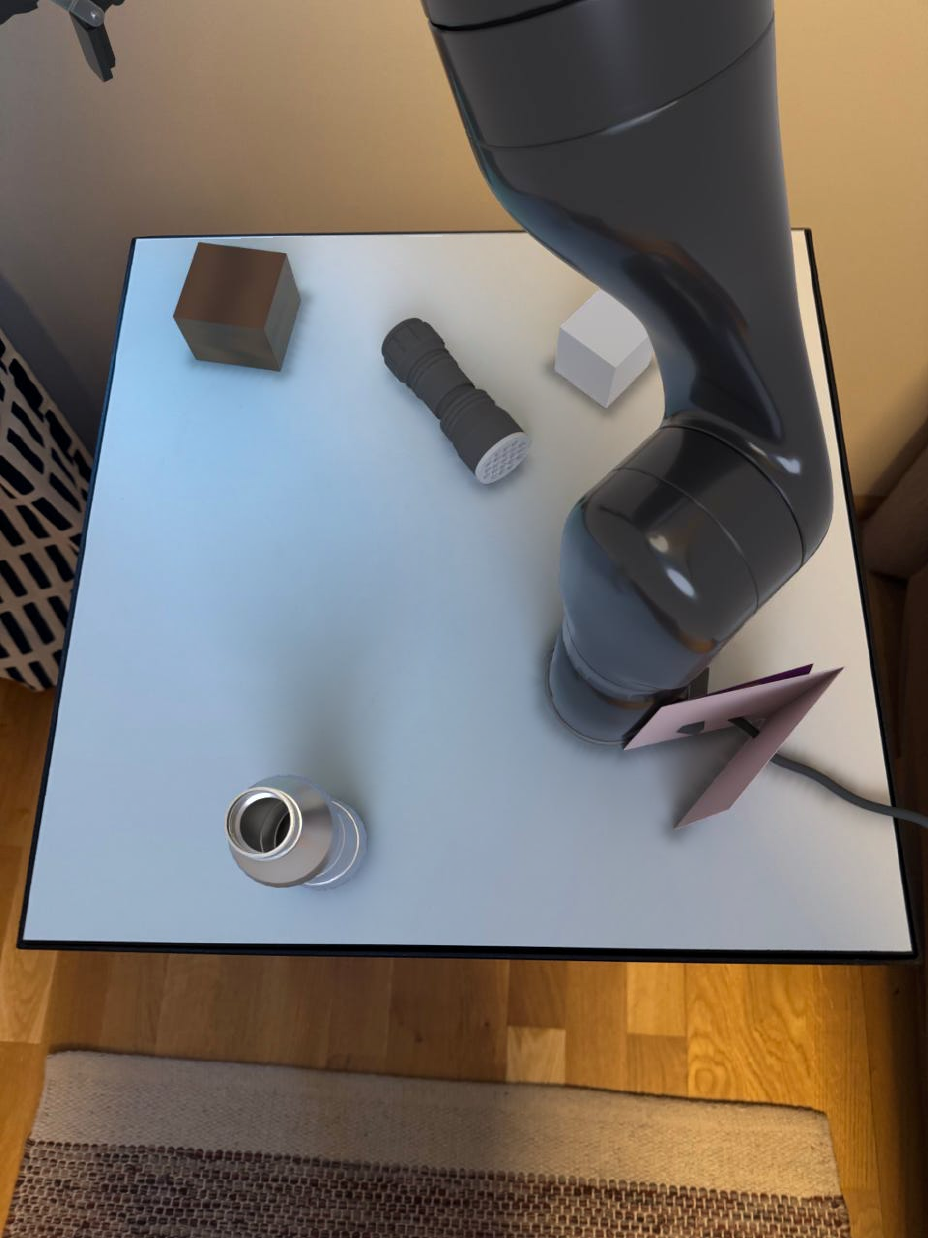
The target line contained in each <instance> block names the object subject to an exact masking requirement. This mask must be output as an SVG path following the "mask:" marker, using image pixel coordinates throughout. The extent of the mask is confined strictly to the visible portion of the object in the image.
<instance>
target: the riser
mask: <svg viewBox="0 0 928 1238" xmlns="http://www.w3.org/2000/svg"><path fill="white" fill-rule="evenodd" d="M184 279H185V280H184V283H183V284H182V288H181V291H180V294H179V297H178V300H177V302H176V305H175V309H174V311H173V314H172V318H173V320H174V322H175V324H176V326H177V328H178V330H179V331H180V334H181V335H182V337H183V339H184V341H185V342H186V344H187V346H188V348H189V350H190V352H191V354H192V355H193V357H194V359H195V360H196V361H202V362H209V363H216V364H223V365H229V366H238V367H244V368H245V367H246V368H250V369H251V368H253V369H258V370H266V371H273V372H281V370H282V366H283V363H284V360H285V356H286V353H287V349H288V345H289V342H290V339H291V336H292V332H293V328H294V325H295V322H296V318H297V314H298V311H299V308H300V304H301V301H302V299H301V295H300V291H299V288H298V286H297V283H296V279H295V276H294V273H293V270H292V266H291V264H290V260H289V257H288V255H287V253H286V252H280V251H272V250H266V249H258V248H250V247H241V246H235V245H226V244H220V243H219V244H217V243H212V242H211V243H209V242H203V241H198V242H197V245H196V248H195V251H194V253H193V256H192V260H191V262H190V266H189V268H188V271H187V273H186V277H185V278H184Z"/></svg>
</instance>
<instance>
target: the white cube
mask: <svg viewBox="0 0 928 1238" xmlns="http://www.w3.org/2000/svg"><path fill="white" fill-rule="evenodd" d="M557 337H558V339H557V345H556V354H555V361H554V371H555V372H556V373H557V374H558V375H560V376H561V377H563V378H564V379H565V380H566V381H568V382H569V383H571V384H572V385H573V386H575V387H576V388H577V389H579V390H580V391H581V392H582V393H584V394H585V395H586V396H588V397H589V398H590V399H592V400H593V401H595V402H596V404H598V405H600V406H602V407H603V408H604V409H606V410H607V408H609V407H610V405H611V404H613V402H614V401H616V400H617V398H618V397H619V396H621V394H623V392H625V391H626V389H627V388H628V387H630V386H631V384H632V383H633V382H634V381H635V380H636V379H638V377H639V376H640V375H641V374H642V373H643V372H644V371H646V370H647V368H648V367H649V366H650V363H651V359H652V357H653V353H654V350H653V347H652V344H651V342H650V339H649V337H648V334H647V332H646V331H645V329H644V327H643V325H642V324H641V323H640V321H639V320H638V319H637V318H636V317H635V316H634V315H633V314H632V313H631V312H630V311H629V310H628V309H627V308H625V307H624V306H623V305H622V304H620V303H619V302H618V301H617V300H615V299H614V298H613V297H612V296H610V295H609V294H608V293H606V292H605V291H603V290H602V289H600V288H599V289H598V290H596V291H595V292H594V293H593V295H592V296H590V297H589V298H588V299H587V300H586V301H585V302H584V303H582V305H581V306H580V307H579V308H578V309H577V310H576V311H575V312H574V313H573V314H571V316H570V317H568V319H567V320H565V321H564V322H563V324H561V325H560V326H559V329H558V336H557Z"/></svg>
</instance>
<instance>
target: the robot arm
mask: <svg viewBox="0 0 928 1238" xmlns="http://www.w3.org/2000/svg"><path fill="white" fill-rule="evenodd" d="M39 1H40V0H0V26H1V25H3V24H5V23H6V22H7V21H8V20H10V19H11V18H13V16H16V15H21V14H28V13H30V12H33V11H35V10H37V9H39V6H38V3H39ZM125 1H126V0H51V2H53V3H54V4H56V5H58V6H59V7H60V8H62V9H63V10H65V11H66V12H68V14H69V17H70V20H71V22H72V25H73V28H74V31H75V33H76V36H77V39H78V42H79V44H80V47H81V50H82V54H83V56H84V58H85V60H86V63H87V66H88V67H89V68H90V70H91V71H92V72H93V73H94V74H95V75H96V77H97V78H99V80H101V82H103V83H106V82H109V81H111V80H113V79H114V74H113V72H112V69H113V68H116V58H117V57H116V56H115V53H114V50H113V46H112V44H111V41H110V37H109V34H108V31H107V28H106V26H105V22H104V21H105V17H106V16H105V14H106V12H107V11H108V9H109V8H111V6H115V7H118V6H121V5H123V4H124V3H125ZM419 1H420V4H421V7H422V11H423V14H424V16H425V17H426V19H427V25H428V28H429V31H430V34H431V36H432V39H433V43H434V46H435V49H436V52H437V54H438V57H439V60H440V63H441V66H442V68H443V72H444V75H445V78H446V80H447V83H448V86H449V89H450V91H451V95H452V98H453V101H454V105H455V107H456V110H457V112H458V115H459V118H460V121H461V124H462V126H463V128H464V132H465V135H466V138H467V142H468V143H469V144H468V145H469V146H470V149H471V151H472V154H473V156H474V160H475V162H476V164H477V167H478V169H479V172H480V173H481V175H482V177H483V179H484V180H485V183H486V184H487V186H488V188H489V190H490V192H491V193H492V195H493V196H494V197H495V199H496V200H497V201H498V203H499V204H500V205H501V207H502V209H504V211H505V212H506V213H507V214H508V215H509V217H511V219H512V220H513V221H514V222H515V223H516V224H517V225H518V226H519V227H520V228H522V230H523V231H524V232H526V233H527V235H528V236H530V237H531V238H532V239H533V240H534V241H536V242H537V243H538V244H539V245H541V246H542V247H543V248H544V249H546V251H549V253H550V254H552V255H553V256H555V257H556V258H557V259H559V260H560V261H561V262H563V263H564V264H565V265H567V266H568V267H569V268H571V269H572V270H573V271H575V272H576V273H578V274H579V275H580V276H582V277H583V278H584V279H586V280H587V281H589V282H591V283H592V284H593V285H595V286H596V287H598V288H599V289H602V290H603V291H605V292H606V293H608V294H609V295H610V296H612V297H613V298H614V299H615V300H617V301H618V302H619V303H620V304H622V305H623V306H624V307H625V308H627V309H628V310H629V311H630V312H631V313H632V314H633V315H634V316H635V317H636V318H637V319H638V320H639V321H640V323H641V324H642V325H643V327H644V329H645V331H646V332H647V334H648V337H649V339H650V342H651V344H652V347H653V353H654V356H655V359H656V362H657V363H656V364H657V366H658V370H659V375H660V379H661V381H662V382H661V383H662V390H663V398H664V400H663V401H664V410H663V416H662V419H661V422H660V424H659V426H658V428H656V430H655V431H653V432H652V433H651V434H650V435H649V436H648V437H647V438H645V439H644V440H643V441H642V442H641V443H640V444H638V446H636V447H635V448H634V449H633V450H632V451H630V453H628V455H626V456H625V457H624V458H623V459H622V460H621V461H620V462H619V463H617V465H615V466H614V468H612V469H611V470H610V471H609V472H607V473H606V475H605V476H603V477H602V478H601V479H600V480H599V481H598V482H597V483H595V484H594V485H593V487H591V488H590V489H589V490H588V491H587V492H585V494H583V496H582V497H580V498H579V499H578V500H577V502H576V503H575V504H574V505H573V507H572V509H571V510H570V511H569V513H568V515H567V517H566V519H565V522H564V525H563V529H562V532H561V533H562V534H561V540H560V553H559V554H560V555H559V565H558V566H559V567H558V588H559V589H558V590H559V594H560V598H561V602H562V605H563V608H564V611H563V615H562V619H561V623H560V627H559V629H558V634H557V638H556V641H555V645H554V647H553V648H552V649H550V651H549V652H548V654H546V656H545V657H544V658H543V662H545V661H546V660H547V659H548V658H549V656H551V658H550V660H549V664H548V666H547V671H546V676H545V693H546V698H547V702H548V704H549V707H550V710H551V711H552V713H553V715H554V716H555V718H556V719H557V721H558V722H559V723H560V724H561V725H562V727H563V728H564V729H566V730H567V731H568V732H569V733H570V734H571V735H574V736H575V737H576V738H578V739H581V740H583V741H585V742H588V743H591V744H595V745H599V746H618V745H625V744H628V743H630V742H631V740H632V739H633V738H634V737H635V736H636V735H637V734H638V733H639V732H640V730H641V729H642V728H643V727H644V726H645V725H646V724H647V723H648V722H649V720H650V719H651V718H652V717H653V716H654V715H655V714H656V713H657V711H658V710H659V709H660V708H661V707H664V706H668V705H673V704H674V703H678V702H681V701H685V700H688V699H692V698H695V697H698V696H702V695H705V694H708V690H709V680H710V679H709V678H710V670H711V669H710V667H709V666H710V665H711V664H712V663H713V661H715V659H716V658H717V657H718V656H719V654H720V652H721V651H722V650H723V648H724V647H726V645H727V644H728V643H729V642H730V641H731V640H732V639H733V638H734V637H735V636H736V635H737V634H738V633H739V632H740V631H741V630H742V629H743V628H744V627H745V626H746V625H747V624H748V623H749V622H750V621H751V620H752V619H753V617H754V616H755V615H756V614H757V613H758V612H760V610H761V609H762V608H764V606H765V605H766V604H767V603H768V602H769V601H770V600H771V599H772V598H774V596H776V594H777V593H778V592H779V591H780V590H781V589H783V587H784V586H785V585H787V583H788V582H790V580H791V579H792V578H793V577H795V575H796V574H797V573H798V572H799V571H801V569H802V568H803V567H804V566H805V565H806V564H807V563H808V561H810V559H811V558H812V557H813V556H814V554H815V553H816V552H817V551H818V549H819V548H820V547H821V545H822V543H823V541H824V540H825V537H826V536H827V534H828V533H829V529H830V526H831V523H832V519H833V513H834V502H835V501H834V500H835V499H834V497H835V496H834V481H833V474H832V466H831V461H830V460H831V459H830V454H829V453H830V452H829V449H828V445H827V439H826V433H825V429H824V424H823V420H822V415H821V410H820V405H819V401H818V400H819V399H818V396H817V391H816V385H815V380H814V376H813V372H812V367H811V363H810V358H809V353H808V348H807V343H806V338H805V337H806V336H805V333H804V325H803V320H802V314H801V310H800V309H801V308H800V302H799V294H798V286H797V285H798V283H797V277H796V266H795V256H794V255H795V254H794V245H793V236H792V227H791V218H790V210H789V209H790V208H789V200H788V189H787V181H786V174H785V163H784V156H783V155H784V154H783V146H782V145H783V144H782V136H781V128H780V127H781V125H780V111H779V97H778V94H779V93H778V77H777V75H778V73H777V44H776V42H777V40H776V11H775V0H419ZM551 654H552V655H551ZM727 721H729V722H731V723H733V724H735V726H736V727H738V728H740V729H741V730H743V732H745V733H746V734H748V735H749V736H750V737H752V738H753V739H754V738H756V737H757V735H758V734H759V733H760V731H759V730H758V727H756V726H755V725H754V724H752V722H748V721H747V720H745V719H744V718H742V717H736V718H732V719H728V720H727ZM704 725H705V721H702V722H697V723H693V724H688V725H684V726H682V727H681V728H680V729H678V730H677V731H676V732H677V733H683V734H689V735H690V736H697V735H698V733H699V734H701V733H700V732H701V731H702V730H703V729H704ZM769 762H772V763H773V764H775V765H777V766H780V767H782V768H783V769H786V770H787V769H788V770H790V771H792V772H795V773H797V774H801V775H803V776H805V777H808V778H810V779H812V780H813V781H815V782H817V783H818V784H820V785H821V786H823V787H825V788H826V789H828V790H829V791H830V792H832V793H833V794H835V795H836V796H837V797H839V798H841V799H843V800H844V801H846V802H848V803H850V804H852V805H854V806H856V807H859V808H860V809H862V810H863V809H864V810H866V811H869V812H872V813H876V814H879V815H884V816H887V817H891V818H895V819H901V820H903V821H908V822H912V823H915V824H918V825H920V826H922V827H923V828H925V829H926V830H928V816H926V815H924V814H921V813H920V812H916V811H913V810H908V809H905V808H901V807H898V806H897V807H896V806H892V805H888V804H884V803H880V802H877V801H873V800H870V799H867V798H865V797H862V796H860V795H858V794H856V793H854V792H852V791H850V790H848V789H847V788H845V787H843V786H842V785H840V784H839V783H837V782H836V781H835V780H833V779H832V778H830V776H827V775H826V774H824V773H823V772H821V771H820V770H817V769H815V768H813V767H811V766H809V765H806V764H805V763H801V762H798V761H796V760H793V759H790V758H788V757H785V756H783V755H781V754H779V753H777V752H776V753H775V754H774V755H773V757H772V758H771V759H770V760H769Z"/></svg>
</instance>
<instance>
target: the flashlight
mask: <svg viewBox="0 0 928 1238" xmlns="http://www.w3.org/2000/svg"><path fill="white" fill-rule="evenodd" d="M380 351H381V352H380V353H381V355H382V357H383V363H384V365H385V366H386V367H387V368H388V370H389V371H390V372H391V373H392V374H393V376H394V377H395V378H396V379H397V380H398V381H399V382H400V383H402V384H405V385H406V386H407V387H408V388H409V389H410V390H411V392H412V393H413V394H414V395H415V397H416V398H418V399H419V400H420V401H422V402H423V403H424V405H425V406H426V407H427V408H428V410H429V411H430V412H431V414H433V416H434V417H435V418H436V419H437V420H438V421H439V428H440V432H442V433H443V434H444V436H445V437H446V438H447V439H448V441H449V442H450V443H452V444H453V446H454V449H455V451H456V453H457V456H458V457H459V459H460V460H461V461H462V462H463V464H465V466H466V467H467V468H468V469H469V471H470V472H471V473H472V474H473V475H474V477H475V478H476V479H477V481H478V482H479V483H481V484H484V485H485V484H486V485H488V484H492V483H495V482H497V481H499V480H502V479H503V478H504V477H506V476H507V475H509V474H510V473H512V471H514V470H515V469H516V468H517V467H518V466H519V465H520V463H522V461H524V459H525V458H526V456H527V455H528V453H529V451H530V448H531V446H532V440H531V439H532V438H530V437H529V435H528V434H527V433H526V432H525V431H524V429H523V428H522V427H521V426H520V425H519V424H518V423H517V422H516V420H515V419H514V418H513V417H512V415H511V414H510V413H509V412H507V411H506V410H504V409H503V408H502V407H501V406H498V405H497V403H496V401H495V400H494V399H493V398H492V396H491V395H490V394H488V392H487V391H486V390H485V389H482V388H476V385H475V384H474V383H473V381H472V380H471V379H470V378H469V377H468V376H467V374H466V373H465V372H464V371H463V370H462V369H461V368H460V365H459V363H458V361H457V360H456V359H455V358H454V357H453V355H451V354H450V352H449V350H448V349H447V348H446V343H445V341H444V339H443V338H442V337H441V335H439V333H438V332H437V331H436V329H434V327H433V326H432V325H431V324H430V322H429V323H428V322H427V321H423V320H422V319H421V318H418V317H410V318H407V319H406V318H405V319H404V320H402V321H400V322H399V323H397V324H396V325H394V326H393V327H392V328H391V330H389V331H388V333H387V334H386V336H385V337H384V339H383V341H382V344H381V349H380Z"/></svg>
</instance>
